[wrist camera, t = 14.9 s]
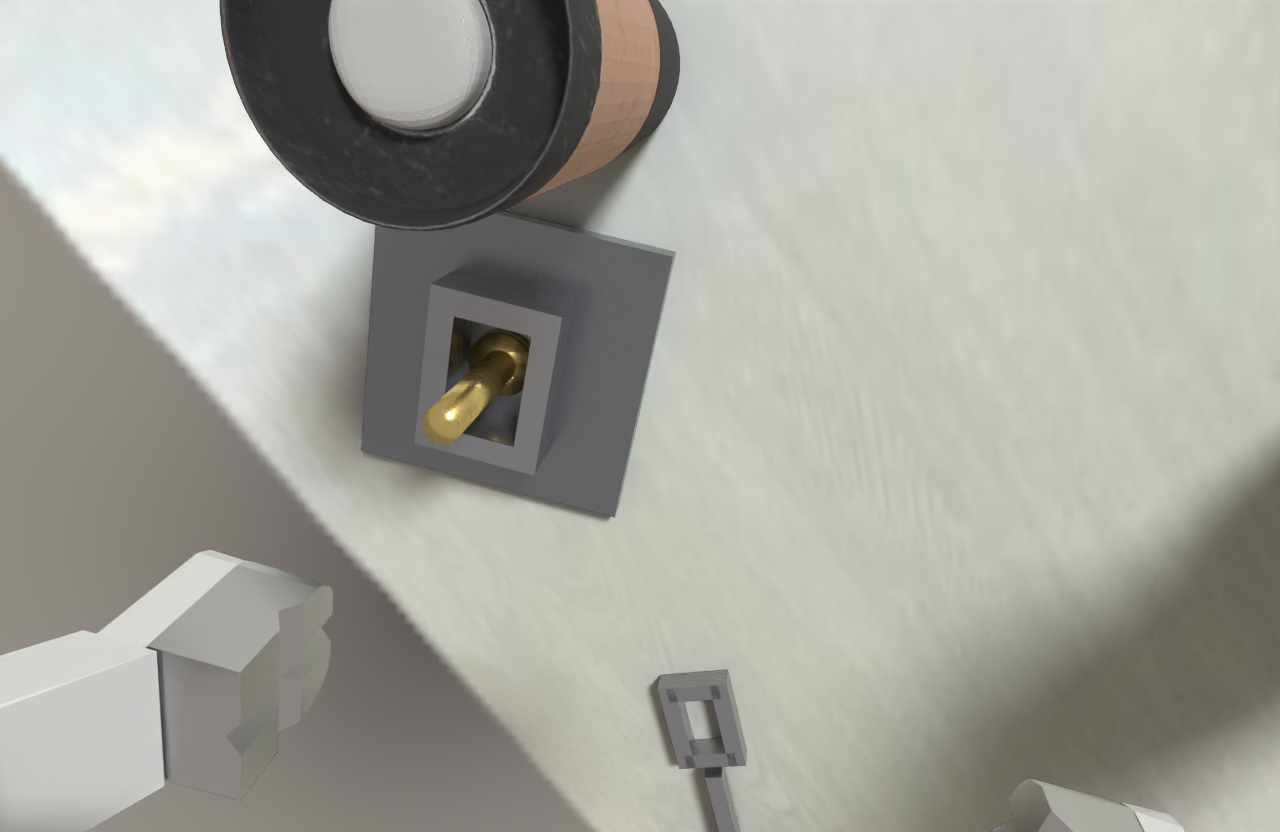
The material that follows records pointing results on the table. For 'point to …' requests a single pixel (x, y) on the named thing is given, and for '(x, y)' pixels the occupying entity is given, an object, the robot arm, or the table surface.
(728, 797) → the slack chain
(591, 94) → the travel mug
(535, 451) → the end link
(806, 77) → the table surface
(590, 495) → the plate
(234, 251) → the table surface
